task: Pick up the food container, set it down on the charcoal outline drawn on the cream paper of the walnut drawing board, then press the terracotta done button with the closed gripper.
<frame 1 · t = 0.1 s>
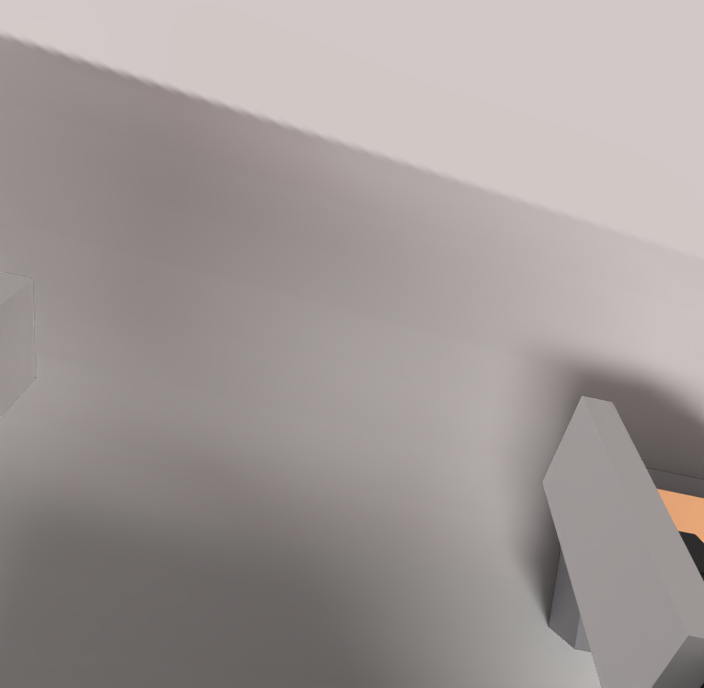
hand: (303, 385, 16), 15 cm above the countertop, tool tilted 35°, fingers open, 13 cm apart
button housing: (643, 555, 31), on the countertop
done button: (683, 572, 28), point 3 cm above the countertop, slide at 0.0 cm
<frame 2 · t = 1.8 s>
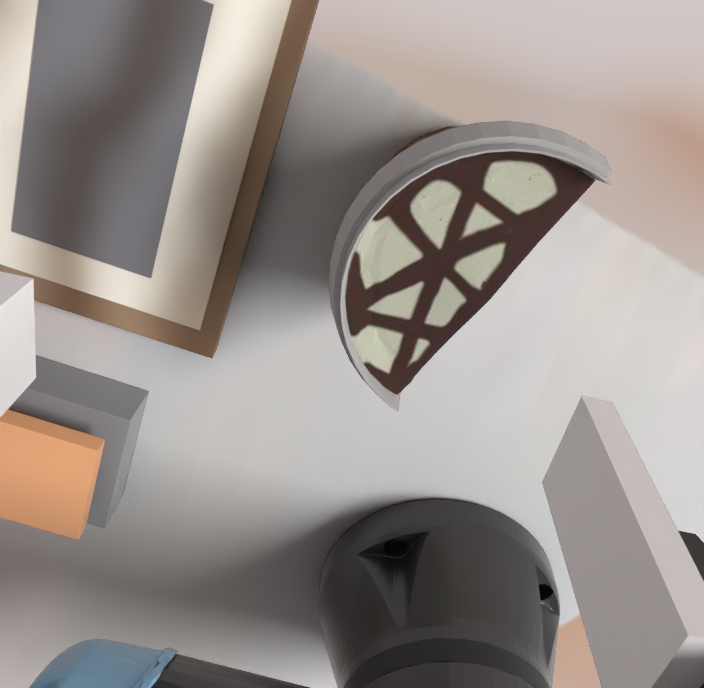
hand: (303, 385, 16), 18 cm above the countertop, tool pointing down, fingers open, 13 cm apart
drawing board: (114, 122, 31), on the countertop
button housing: (68, 424, 39), on the countertop
food container: (417, 187, 32), on the countertop
done button: (42, 459, 36), point 3 cm above the countertop, slide at 0.0 cm
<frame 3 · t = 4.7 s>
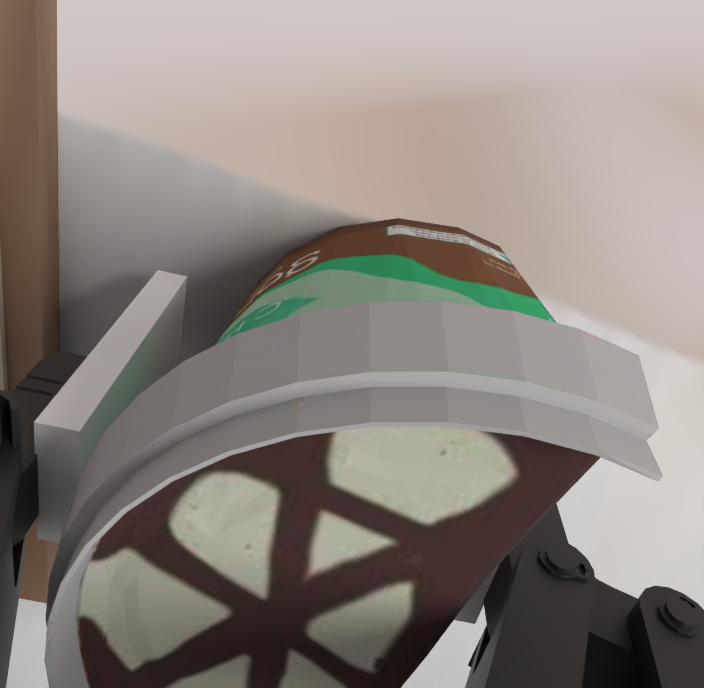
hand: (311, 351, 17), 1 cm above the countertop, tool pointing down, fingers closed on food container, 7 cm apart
food container: (309, 328, 19), on the countertop, touching gripper
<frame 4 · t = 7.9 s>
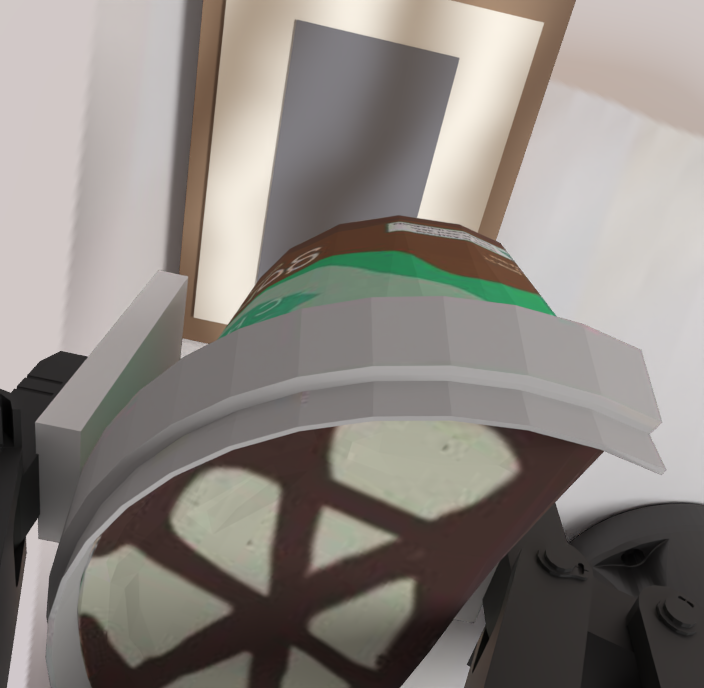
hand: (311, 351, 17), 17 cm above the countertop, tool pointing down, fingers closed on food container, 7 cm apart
drawing board: (349, 181, 32), on the countertop
food container: (310, 326, 18), point 16 cm above the countertop, touching gripper
when the fingers open (3 cm above the countertop, at t = 11.0 s): food container drops 1 cm, resting on drawing board.
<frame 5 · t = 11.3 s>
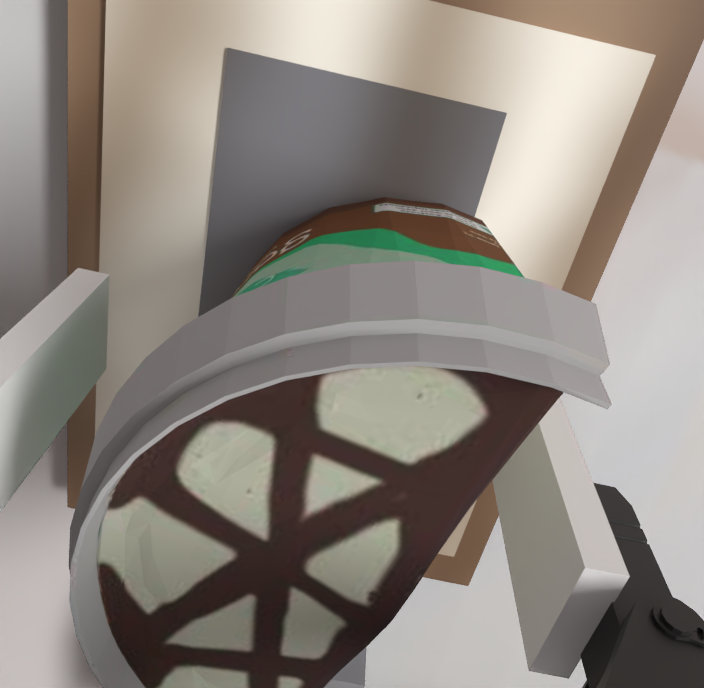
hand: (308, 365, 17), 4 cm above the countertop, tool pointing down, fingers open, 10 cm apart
drawing board: (324, 294, 21), on the countertop
button housing: (258, 660, 29), on the countertop
food container: (306, 306, 20), point 1 cm above the countertop, touching drawing board
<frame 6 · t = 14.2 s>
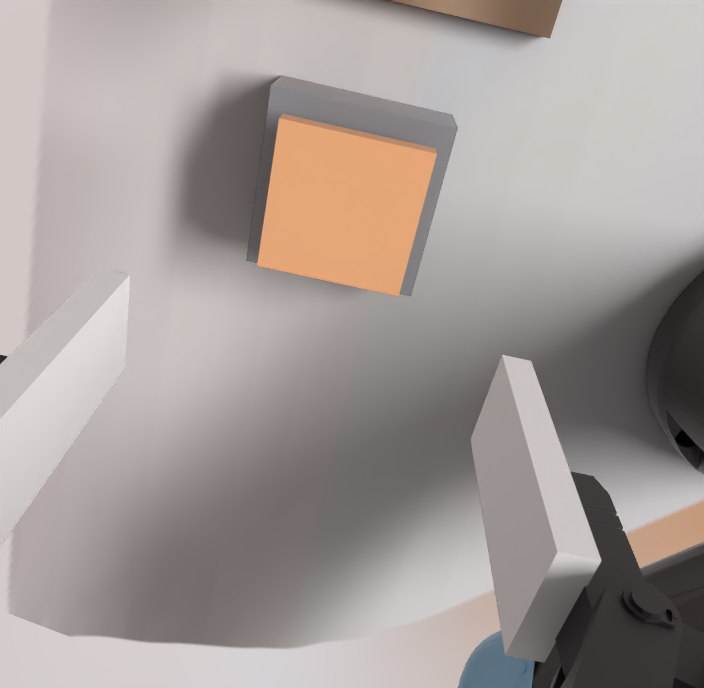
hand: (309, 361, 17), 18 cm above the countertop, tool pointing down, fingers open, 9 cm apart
button housing: (349, 180, 32), on the countertop
done button: (345, 200, 29), point 3 cm above the countertop, slide at 0.0 cm
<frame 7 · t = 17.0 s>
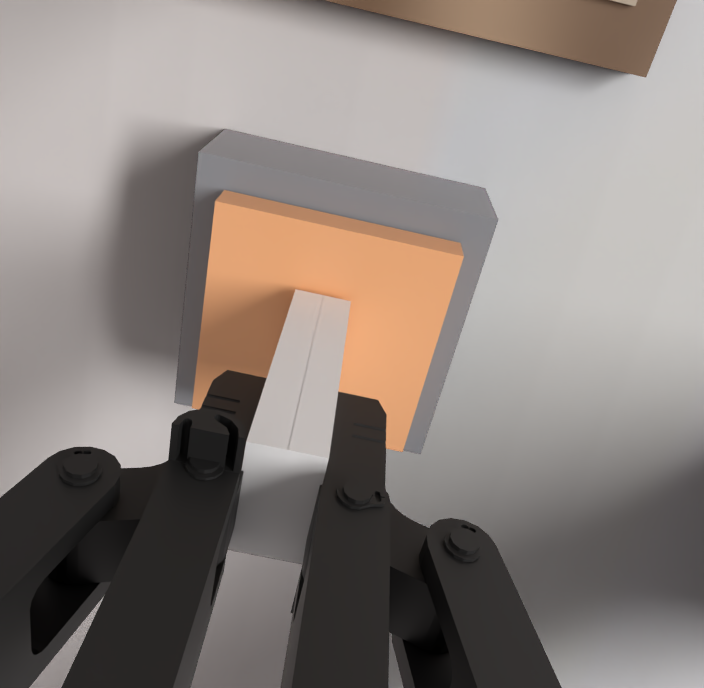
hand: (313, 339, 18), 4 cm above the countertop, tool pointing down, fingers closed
button housing: (330, 278, 22), on the countertop
done button: (323, 310, 20), point 2 cm above the countertop, slide at 1.0 cm, touching gripper
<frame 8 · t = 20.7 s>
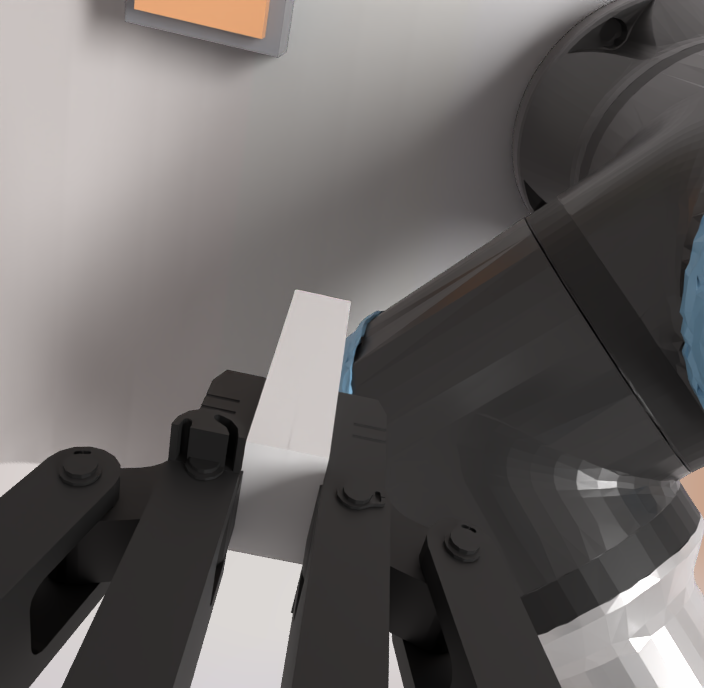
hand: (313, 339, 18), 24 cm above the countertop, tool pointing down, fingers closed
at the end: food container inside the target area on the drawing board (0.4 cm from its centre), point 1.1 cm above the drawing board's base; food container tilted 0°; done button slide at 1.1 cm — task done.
